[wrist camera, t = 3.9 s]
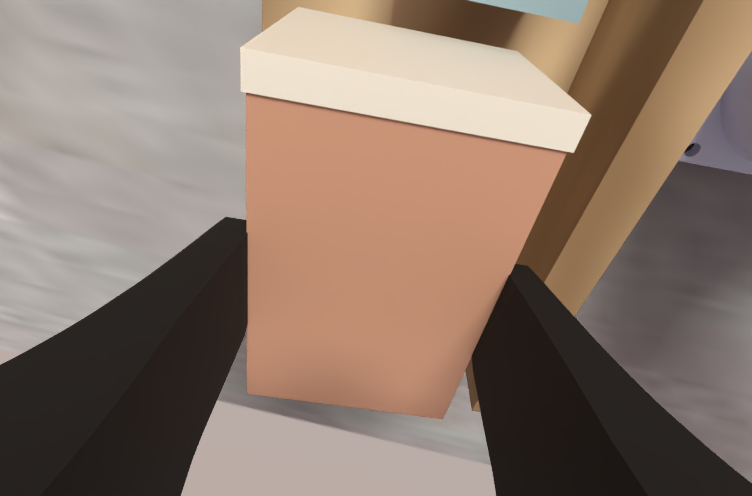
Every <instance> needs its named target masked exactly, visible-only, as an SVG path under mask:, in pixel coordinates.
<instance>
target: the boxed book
mask: <svg viewBox="0 0 752 496" xmlns="http://www.w3.org/2000/svg"><path fill="white" fill-rule="evenodd" d="M240 53H241V92H246V220H247V233H248V325H247V394H253V395H261V396H268V397H276V398H284V399H291V400H299V401H307V402H315V403H322V404H330V405H338V406H345V407H353V408H361V409H368V410H376V411H384V412H392V413H399V414H407V415H415V416H422V417H430V418H438V419H443V417H444V415H445V413H446V411H447V409H448V407H449V405H450V402H451V400H452V398H453V396H454V394H455V392H456V390H457V387H458V385H459V383H460V381H461V379H462V377H463V375H464V372H465V370H466V368H467V366H468V364H469V362H470V360H471V357H472V354H473V351H474V349H475V347H476V345H477V343H478V341H479V339H480V336H481V334H482V332H483V330H484V328H485V326H486V323H487V321H488V319H489V317H490V315H491V313H492V311H493V308H494V306H495V304H496V302H497V300H498V298H499V296H500V293H501V291H502V289H503V287H504V285H505V283H506V280H507V278H508V276H509V274H511V272H512V270H513V267H514V265H515V263H516V261H517V259H518V257H519V255H520V252H521V250H522V248H523V246H524V244H525V242H526V240H527V237H528V235H529V233H530V231H531V229H532V227H533V225H534V222H535V220H536V218H537V216H538V214H539V212H540V210H541V207H542V205H543V203H544V201H545V199H546V197H547V195H548V193H549V190H550V188H551V186H552V184H553V182H554V180H555V178H556V175H557V173H558V171H559V169H560V167H561V165H562V163H563V160H564V158H565V156H566V154H567V152H571V153H574V151H575V149H576V147H577V145H578V143H579V141H580V139H581V137H582V134H583V132H584V130H585V128H586V126H587V124H588V122H589V120H590V118H591V116H592V115H591V114H590V113H589V112H588V111H587V110H585V109H584V108H583V107H582V106H581V105H580V104H578V103H577V102H576V101H575V100H574V99H573V98H571V97H570V96H569V95H568V94H567V93H566V92H564V91H563V90H562V89H561V88H560V87H559V86H558V85H556V84H555V83H554V82H553V81H552V80H551V79H549V78H548V77H547V76H546V75H545V74H544V73H542V72H541V71H540V70H539V69H538V68H537V67H535V66H534V65H533V64H532V63H531V62H530V61H528V60H527V59H526V58H525V57H524V56H523V55H522V54H520V53H519V52H518V51H514V50H509V49H504V48H499V47H494V46H489V45H485V44H480V43H475V42H470V41H465V40H460V39H455V38H450V37H445V36H440V35H435V34H430V33H425V32H420V31H415V30H410V29H405V28H400V27H395V26H391V25H386V24H381V23H376V22H371V21H366V20H361V19H356V18H351V17H346V16H341V15H336V14H331V13H326V12H321V11H316V10H311V9H306V8H301V7H297V8H296V9H295V10H293V11H292V12H290V13H289V14H287V15H286V16H285V17H283V18H282V19H280V20H279V21H277V22H276V23H275V24H273V25H272V26H270V27H269V28H267V29H266V30H264V31H263V32H262V33H260V34H259V35H257V36H256V37H254V38H253V39H252V40H250V41H249V42H247V43H246V44H244V45H243V46H242V47H240Z"/></svg>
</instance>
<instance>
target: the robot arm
mask: <svg viewBox="0 0 752 496" xmlns="http://www.w3.org/2000/svg"><path fill="white" fill-rule="evenodd" d="M693 143H695V144H694V146H693V148H692V149H691V150H689V151H687V152H684V153H683V155H682V156H681V158H680V159H679V161H681V162H686V163H692V164H697V165H702V166H708V167H713V168H718V169H724V170H729V171H734V172H740V173H745V174H750V175H752V51H751V53H750V54H749V56H748V57H747V59H746V60H745V62H744V63H743V65H742V66H741V68H740V69H739V71H738V72H737V74H736V75H735V77H734V78H733V80H732V81H731V83H730V84H729V86H728V87H727V89H726V90H725V92H724V93H723V95H722V96H721V98H720V99H719V101H718V102H717V104H716V105H715V107H714V108H713V110H712V111H711V113H710V114H709V116H708V117H707V119H706V120H705V122H704V123H703V125H702V126H701V128H700V129H699V131H698V132H697V134H696V135H695V137H694V138H693V140H692V141H691V143H690V144H689V145H691V144H693ZM247 325H248V233H247V220H242V219H236V218H229V217H225V218H224V219H222V220H221V221H220V222H218V223H217V224H216V225H214V226H213V227H212V228H210V229H209V230H208V231H206V232H205V233H204V234H203V235H201V236H200V237H199V238H198V239H196V240H195V241H194V242H192V243H191V244H190V245H189V246H187V247H186V248H185V249H183V250H182V251H181V252H179V253H178V254H177V255H175V256H174V257H173V258H171V259H170V260H169V261H167V262H166V263H165V264H163V265H162V266H161V267H159V268H158V269H156V270H155V271H154V272H152V273H151V274H150V275H148V276H147V277H145V278H144V279H143V280H141V281H140V282H138V283H137V284H136V285H134V286H133V287H131V288H129V289H128V290H126V291H125V292H123V293H122V294H120V295H119V296H117V297H116V298H114V299H113V300H111V301H110V302H108V303H107V304H105V305H104V306H102V307H101V308H99V309H98V310H96V311H95V312H93V313H92V314H90V315H88V316H87V317H85V318H83V319H82V320H80V321H79V322H77V323H75V324H74V325H72V326H70V327H69V328H67V329H65V330H64V331H62V332H60V333H58V334H57V335H55V336H53V337H51V338H49V339H48V340H46V341H44V342H42V343H40V344H39V345H37V346H35V347H33V348H32V349H30V350H28V351H26V352H24V353H22V354H20V355H19V356H17V357H15V358H13V359H11V360H9V361H7V362H5V363H3V364H1V365H0V496H181V493H182V490H183V487H184V483H185V480H186V477H187V474H188V471H189V468H190V465H191V462H192V459H193V456H194V454H195V451H196V448H197V446H198V444H199V441H200V438H201V436H202V433H203V431H204V429H205V426H206V424H207V422H208V419H209V417H210V415H211V412H212V410H213V408H214V406H215V403H216V401H217V399H218V396H219V394H220V392H221V389H222V387H223V385H224V382H225V380H226V378H227V375H228V373H229V371H230V368H231V366H232V364H233V361H234V359H235V357H236V354H237V352H238V350H239V347H240V345H241V342H242V340H243V338H244V335H245V331H246V328H247ZM472 368H473V374H474V380H475V385H476V390H477V395H478V401H479V406H480V411H481V416H482V421H483V426H484V431H485V436H486V441H487V446H488V451H489V456H490V461H491V466H492V471H493V477H494V484H495V489H496V496H752V483H750V482H749V481H748V480H747V479H745V478H744V477H743V476H742V475H740V474H739V473H738V472H737V471H735V470H734V469H733V468H732V467H730V466H729V465H728V464H727V463H726V462H724V461H723V460H722V459H721V458H720V457H718V456H717V455H716V454H715V453H714V452H712V451H711V450H710V449H709V448H708V447H707V446H705V445H704V444H703V443H702V442H701V441H700V440H699V439H697V438H696V437H695V436H694V435H693V434H692V433H691V432H690V431H688V430H687V429H686V428H685V427H684V426H683V425H682V424H681V423H679V422H678V421H677V420H676V419H675V418H674V417H673V416H671V415H670V414H669V413H668V412H667V411H666V410H665V409H664V408H663V407H662V406H661V405H660V404H658V403H657V402H656V401H655V400H654V399H653V398H652V397H651V396H650V395H649V394H648V393H647V392H646V391H645V390H644V389H643V388H642V387H641V386H640V385H639V384H638V383H637V382H636V381H635V380H634V379H633V378H632V377H631V376H630V375H629V374H628V373H627V372H626V371H625V370H624V369H623V368H622V367H621V366H620V365H619V364H618V363H617V362H616V361H615V360H614V359H613V358H612V357H611V356H610V355H609V354H608V353H607V352H606V351H605V350H604V349H603V348H602V346H601V345H600V344H599V343H598V342H597V341H596V340H595V339H594V338H593V337H592V336H591V335H590V334H589V332H588V331H587V330H586V329H585V328H584V327H583V326H582V325H581V324H580V323H579V321H578V320H577V319H576V318H575V317H574V316H573V315H572V314H571V313H570V311H569V310H568V309H567V308H566V307H565V306H564V305H563V304H562V302H561V301H560V300H559V299H558V298H557V297H556V296H555V295H554V293H553V292H552V291H551V290H550V289H549V288H548V287H547V286H546V284H545V283H544V282H543V281H542V280H541V279H540V278H539V277H538V276H537V275H536V274H535V273H534V272H533V271H532V270H531V269H530V268H529V267H528V266H526V265H520V264H515V265H514V267H513V270H512V272H511V274H509V276H508V278H507V280H506V283H505V285H504V287H503V289H502V291H501V293H500V296H499V298H498V300H497V302H496V304H495V306H494V308H493V311H492V313H491V315H490V317H489V319H488V321H487V323H486V326H485V328H484V330H483V332H482V334H481V336H480V339H479V341H478V343H477V345H476V347H475V349H474V351H473V354H472Z"/></svg>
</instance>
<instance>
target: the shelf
mask: <svg viewBox="0 0 752 496" xmlns="http://www.w3.org/2000/svg"><path fill="white" fill-rule="evenodd" d="M297 7H301V8H306V9H311V10H316V11H321V12H326V13H331V14H336V15H341V16H346V17H351V18H356V19H361V20H366V21H371V22H376V23H381V24H386V25H391V26H395V27H400V28H405V29H410V30H415V31H420V32H425V33H430V34H435V35H440V36H445V37H450V38H455V39H460V40H465V41H470V42H475V43H480V44H485V45H489V46H494V47H499V48H504V49H509V50H514V51H518V52H519V53H520V54H522V55H523V56H524V57H525V58H526V59H527V60H528V61H530V62H531V63H532V64H533V65H534V66H535V67H537V68H538V69H539V70H540V71H541V72H542V73H544V74H545V75H546V76H547V77H548V78H549V79H551V80H552V81H553V82H554V83H555V84H556V85H558V86H559V87H560V88H561V89H562V90H563V91H564V92H566V93H567V94H568V95H569V96H570V97H571V98H573V99H574V100H575V101H576V102H577V103H578V104H580V105H581V106H582V107H583V108H584V109H585V110H587V111H588V112H589V113H590V114H591V115H592V116H591V118H590V120H589V122H588V124H587V126H586V128H585V130H584V132H583V134H582V137H581V139H580V141H579V143H578V145H577V147H576V149H575V151H574V153H571V152H567V154H566V156H565V158H564V160H563V163H562V165H561V167H560V169H559V171H558V173H557V175H556V178H555V180H554V182H553V184H552V186H551V188H550V190H549V193H548V195H547V197H546V199H545V201H544V203H543V205H542V207H541V210H540V212H539V214H538V216H537V218H536V220H535V222H534V225H533V227H532V229H531V231H530V233H529V235H528V237H527V240H526V242H525V244H524V246H523V248H522V250H521V252H520V255H519V257H518V259H517V261H516V263H515V264H520V265H526V266H528V267H529V268H530V269H531V270H532V271H533V272H534V273H535V274H536V275H537V276H538V277H539V278H540V279H541V280H542V281H543V282H544V283H545V284H546V286H547V287H548V288H549V289H550V290H551V291H552V292H553V293H554V295H555V296H556V297H557V298H558V299H559V300H560V301H561V302H562V304H563V305H564V306H565V307H566V308H567V309H568V310H569V311H570V313H571V314H572V315H573V316H575V315H576V313H577V312H578V310H579V309H580V307H581V306H582V304H583V303H584V301H585V300H586V298H587V297H588V295H589V294H590V292H591V291H592V289H593V288H594V286H595V285H596V283H597V282H598V280H599V279H600V277H601V276H602V274H603V273H604V271H605V270H606V268H607V267H608V265H609V264H610V262H611V261H612V259H613V258H614V256H615V255H616V253H617V252H618V250H619V249H620V247H621V246H622V244H623V243H624V241H625V240H626V238H627V237H628V235H629V234H630V232H631V231H632V229H633V228H634V226H635V225H636V223H637V222H638V220H639V219H640V217H641V216H642V214H643V213H644V211H645V210H646V208H647V207H648V205H649V204H650V202H651V201H652V199H653V198H654V196H655V195H656V193H657V192H658V190H659V189H660V187H661V186H662V184H663V183H664V181H665V180H666V178H667V177H668V175H669V174H670V172H671V171H672V170H673V168H674V167H675V165H676V164H677V162H678V161H679V159H680V158H681V156H682V155H683V153H684V152H685V150H686V149H687V147H688V146H689V144H690V143H691V141H692V140H693V138H694V137H695V135H696V134H697V132H698V131H699V129H700V128H701V126H702V125H703V123H704V122H705V120H706V119H707V117H708V116H709V114H710V113H711V111H712V110H713V108H714V107H715V105H716V104H717V102H718V101H719V99H720V98H721V96H722V95H723V93H724V92H725V90H726V89H727V87H728V86H729V84H730V83H731V81H732V80H733V78H734V77H735V75H736V74H737V72H738V71H739V69H740V68H741V66H742V65H743V63H744V62H745V60H746V59H747V57H748V56H749V54H750V53H751V51H752V0H589V1H588V3H587V5H586V8H585V10H584V13H583V15H582V17H581V20H580V22H579V24H578V23H573V22H569V21H564V20H559V19H554V18H550V17H545V16H540V15H535V14H530V13H526V12H521V11H516V10H511V9H507V8H502V7H497V6H492V5H488V4H483V3H478V2H473V1H469V0H263V3H262V32H263V31H264V30H266V29H267V28H269V27H270V26H272V25H273V24H275V23H276V22H277V21H279V20H280V19H282V18H283V17H285V16H286V15H287V14H289V13H290V12H292V11H293V10H295V9H296V8H297ZM466 376H467V382H468V388H469V395H470V401H471V408H472V411H478V412H481V411H480V406H479V401H478V395H477V390H476V385H475V380H474V374H473V368H472V357H471V360H470V362H469V364H468V366H467V368H466Z"/></svg>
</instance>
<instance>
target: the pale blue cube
mask: <svg viewBox="0 0 752 496" xmlns="http://www.w3.org/2000/svg"><path fill="white" fill-rule="evenodd" d="M469 1H473V2H478V3H483V4H488V5H492V6H497V7H502V8H507V9H511V10H516V11H521V12H526V13H530V14H535V15H540V16H545V17H550V18H554V19H559V20H564V21H569V22H573V23H578V24H579V22H580V20H581V17H582V15H583V13H584V10H585V8H586V5H587V3H588V1H589V0H469Z"/></svg>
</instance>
